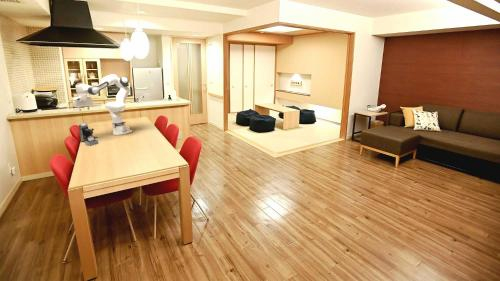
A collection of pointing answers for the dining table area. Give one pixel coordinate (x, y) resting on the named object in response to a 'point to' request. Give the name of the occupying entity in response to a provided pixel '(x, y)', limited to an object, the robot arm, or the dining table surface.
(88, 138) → the lens
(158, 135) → the dining table surface
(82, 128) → the vintage camera
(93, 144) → the lens mount
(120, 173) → the dining table surface
